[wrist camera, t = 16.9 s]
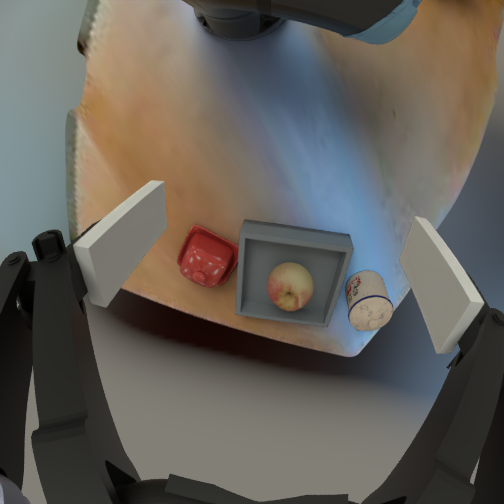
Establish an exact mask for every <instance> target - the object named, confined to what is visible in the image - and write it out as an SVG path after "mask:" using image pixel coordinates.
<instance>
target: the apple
mask: <svg viewBox="0 0 504 504" xmlns="http://www.w3.org/2000/svg"><path fill="white" fill-rule="evenodd" d="M313 290H314V284H313V279H312V276H311V274H310V273H309V271H308V270H307V269H306V268H305V267H304V266H302V265H300V264H298V263H293V262H286V263H282V264H280V265H278V266H276V267H275V268H274V269H273V270H272V271H271V272H270V274H269V276H268V280H267V292H268V295H269V298H270V300H271V301H272V302H273V303H274V304H275V305H277V306H278V307H279V308H281V309H283V310H285V311H295V310H298V309H300V308H302V307H303V306H305V305H306V304H307V303H308V301H309V300H310V299H311V297H312V294H313Z"/></svg>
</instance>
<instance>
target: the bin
mask: <svg viewBox="0 0 504 504" xmlns="http://www.w3.org/2000/svg"><path fill="white" fill-rule="evenodd" d="M353 249H354V248H353V245H352V241H351V238H350V235H349V234H343V233H336V232H330V231H323V230H316V229H310V228H303V227H296V226H289V225H281V224H274V223H267V222H259V221H251V220H244V222H243V225H242V228H241V230H240V236H239V254H238V273H237V293H236V313H235V315H242V316H248V317H255V318H261V319H268V320H275V321H282V322H290V323H298V324H306V325H314V326H323V327H328V324H329V322H330V319H331V316H332V313H333V311H334V308H335V305H336V302H337V299H338V296H339V293H340V290H341V287H342V284H343V281H344V278H345V275H346V272H347V269H348V265H349V262H350V259H351V256H352V252H353ZM286 262H293V263H298V264H300V265H302V266H304V267H305V268H306V269H307V270H308V271H309V273H310V274H311V276H312V279H313V284H314V290H313V294H312V297H311V299H310V300H309V301H308V303H307V304H306V305H305V306H303V307H302V308H300V309H298V310H295V311H285V310H283V309H281V308H279V307H278V306H277V305H275V304H274V303H273V302H272V301H271V300H270V298H269V295H268V292H267V280H268V276H269V274H270V272H271V271H272V270H273V269H274V268H275V267H276V266H278V265H280V264H282V263H286Z"/></svg>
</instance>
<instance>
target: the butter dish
mask: <svg viewBox="0 0 504 504" xmlns="http://www.w3.org/2000/svg"><path fill="white" fill-rule="evenodd" d="M238 254H239V246H237V245H236V244H234V243H232V242H230V241H228V240H226V239H224V238H222V237H220V236H218V235H216V234H214V233H212V232H210V231H209V230H207V229H205V228H203V227H201V226H199V225H194V226H192V228H191V229H190V231H189V233H188V235H187V237H186V239H185V241H184V244H183V246H182V248H181V251H180V253H179V256H178V259H177V263H178V265H179V266H181V268H180V271H181V273H182V275H184V276H185V277H186V278H188V279H189V280H191V281H193V282H195V283H197V284H199V285H202V286H205V287H209V288H212V287H214V286H215V285H216V284H217V285H223V284H224V283H225V282H226V280H227V279H228V277H229V275H230V274H231V272H232V271H233V269H234V267H235V266H236V264H237V262H238Z"/></svg>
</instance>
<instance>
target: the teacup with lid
mask: <svg viewBox="0 0 504 504" xmlns="http://www.w3.org/2000/svg"><path fill="white" fill-rule="evenodd" d="M345 292H346V298H347V304H348V310H349V314H348V318H349V321H350V323H351V324H352V325H353V326H354V327H355V328H356V330H358V331H361V330H363V331H371V330H375V329H378V328H380V327H382V326H383V325H385V324H386V323H387V322H388V321H389V320H390V318H391V316H392V313H393V305H392V303H391V301H390V299H389V296H388V293H387V290H386V287H385V284H384V281H383V279H382V277H381V276H380V275H379V274H378V273H376V272H374V271H361V272H358V273H356V274H354V275H353V276H352V277H351V278H350V279H349V280H348V282H347V284H346V287H345Z"/></svg>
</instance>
